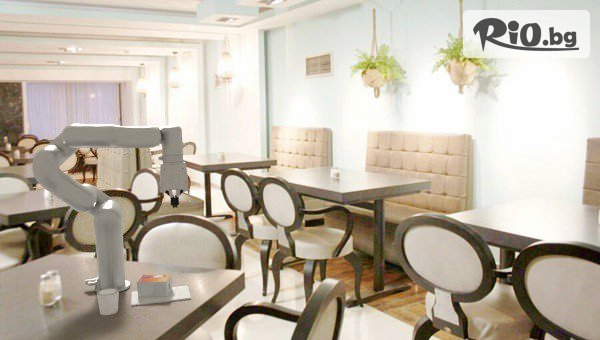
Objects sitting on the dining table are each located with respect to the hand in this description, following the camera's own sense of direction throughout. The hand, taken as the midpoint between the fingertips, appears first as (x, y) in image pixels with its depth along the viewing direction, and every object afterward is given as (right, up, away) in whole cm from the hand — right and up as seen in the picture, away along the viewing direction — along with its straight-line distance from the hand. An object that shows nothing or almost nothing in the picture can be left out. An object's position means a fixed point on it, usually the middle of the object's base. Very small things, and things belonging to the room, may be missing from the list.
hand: (175, 207), depth 198 cm
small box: (+1, -27, -10) cm, 29 cm away
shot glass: (-16, -33, -25) cm, 44 cm away
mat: (-2, -31, -11) cm, 33 cm away
